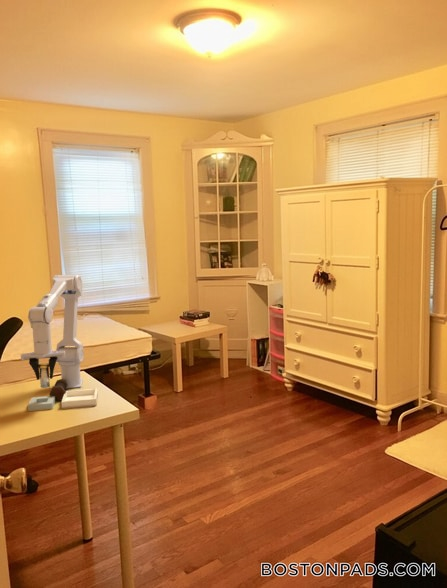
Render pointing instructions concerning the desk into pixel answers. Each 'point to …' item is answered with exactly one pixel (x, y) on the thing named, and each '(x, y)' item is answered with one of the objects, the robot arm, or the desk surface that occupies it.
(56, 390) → the dark brown faceted bar
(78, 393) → the tray
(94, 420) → the desk surface
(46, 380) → the pin
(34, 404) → the grey square socket block
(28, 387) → the desk surface
